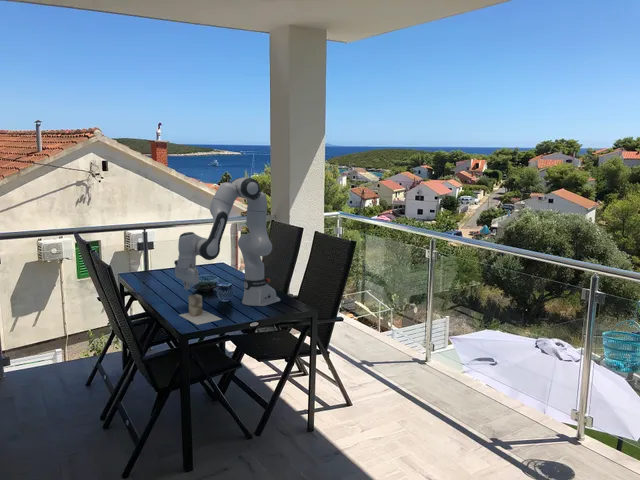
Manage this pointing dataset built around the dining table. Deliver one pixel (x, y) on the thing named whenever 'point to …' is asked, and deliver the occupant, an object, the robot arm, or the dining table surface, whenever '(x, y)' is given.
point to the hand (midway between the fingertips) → (187, 289)
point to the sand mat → (201, 318)
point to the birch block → (195, 305)
